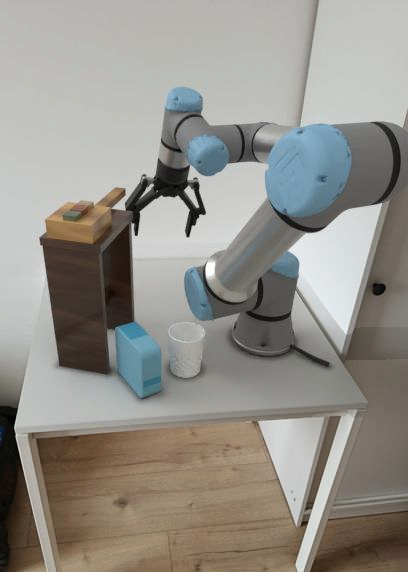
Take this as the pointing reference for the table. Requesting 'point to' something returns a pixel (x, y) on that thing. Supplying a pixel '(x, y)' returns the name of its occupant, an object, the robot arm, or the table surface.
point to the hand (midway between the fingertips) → (161, 233)
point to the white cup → (186, 348)
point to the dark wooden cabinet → (90, 292)
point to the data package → (138, 359)
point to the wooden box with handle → (83, 219)
